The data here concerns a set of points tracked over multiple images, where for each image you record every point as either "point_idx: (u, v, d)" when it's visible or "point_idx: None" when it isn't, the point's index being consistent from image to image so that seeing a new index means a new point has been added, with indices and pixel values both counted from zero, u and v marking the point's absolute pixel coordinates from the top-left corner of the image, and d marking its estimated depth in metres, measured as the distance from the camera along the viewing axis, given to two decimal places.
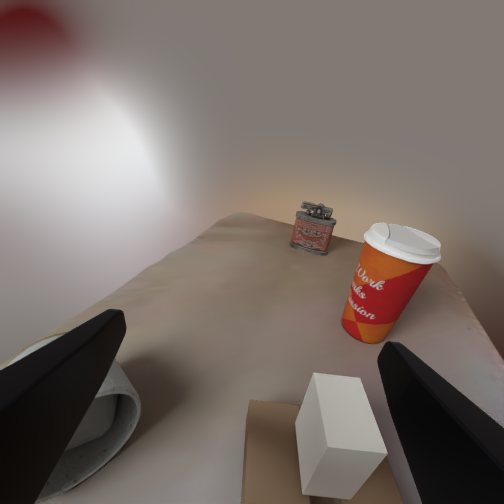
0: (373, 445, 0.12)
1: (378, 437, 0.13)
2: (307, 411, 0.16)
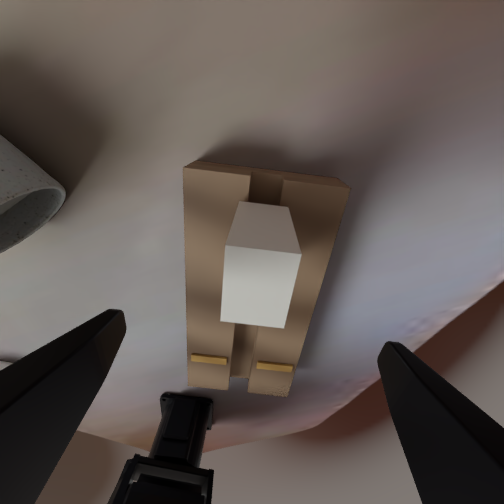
0: (272, 322, 0.11)
1: (282, 317, 0.11)
2: None
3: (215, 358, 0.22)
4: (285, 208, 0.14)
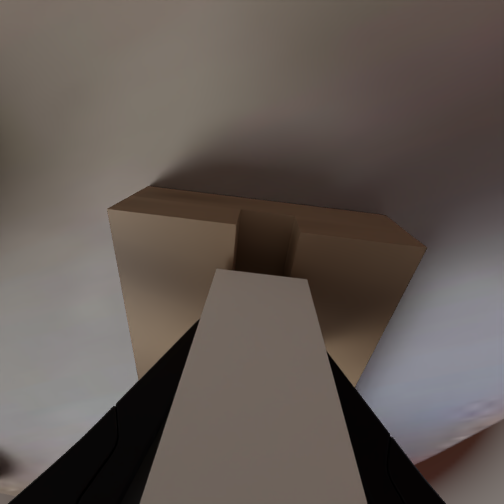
0: None
1: None
2: None
3: None
4: (302, 284, 0.08)
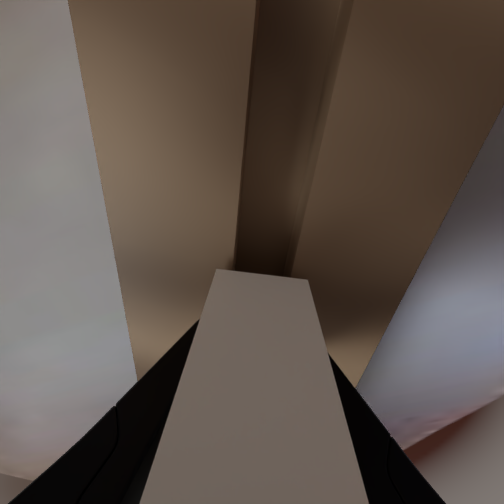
0: None
1: None
2: None
3: None
4: (303, 285, 0.08)
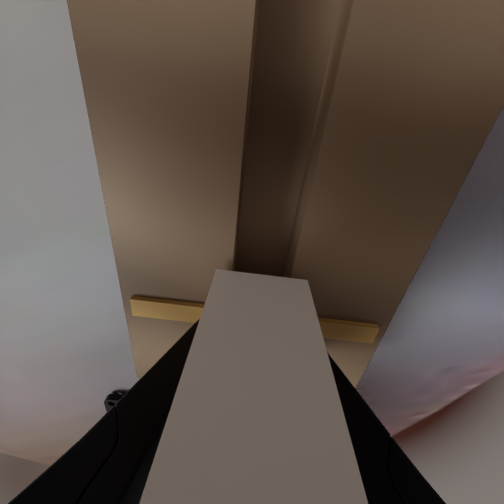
0: None
1: None
2: None
3: (190, 308, 0.09)
4: (303, 285, 0.08)
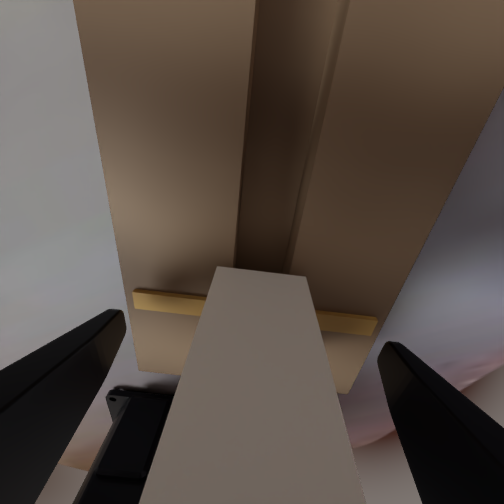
0: None
1: None
2: None
3: (191, 301, 0.09)
4: (301, 282, 0.08)
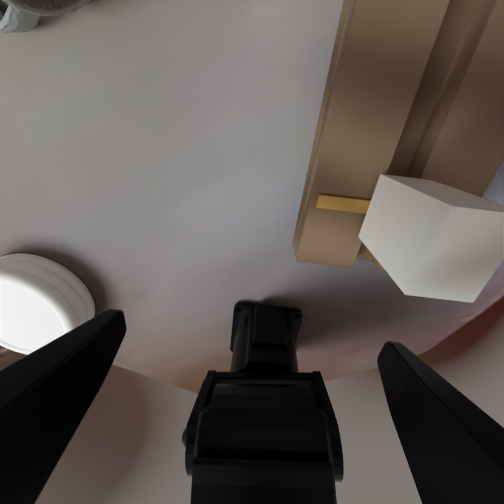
0: (462, 296, 0.10)
1: (477, 289, 0.10)
2: (404, 211, 0.11)
3: (354, 201, 0.15)
4: (432, 181, 0.14)
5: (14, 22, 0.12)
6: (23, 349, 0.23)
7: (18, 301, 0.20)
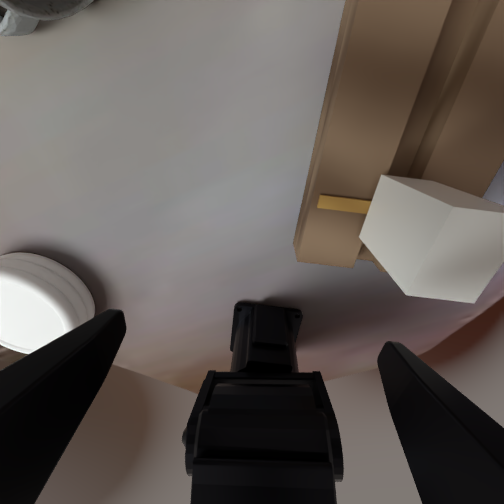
0: (463, 296, 0.10)
1: (478, 290, 0.10)
2: (405, 212, 0.11)
3: (355, 201, 0.15)
4: (433, 181, 0.14)
5: (13, 26, 0.12)
6: (23, 348, 0.23)
7: (18, 300, 0.20)
